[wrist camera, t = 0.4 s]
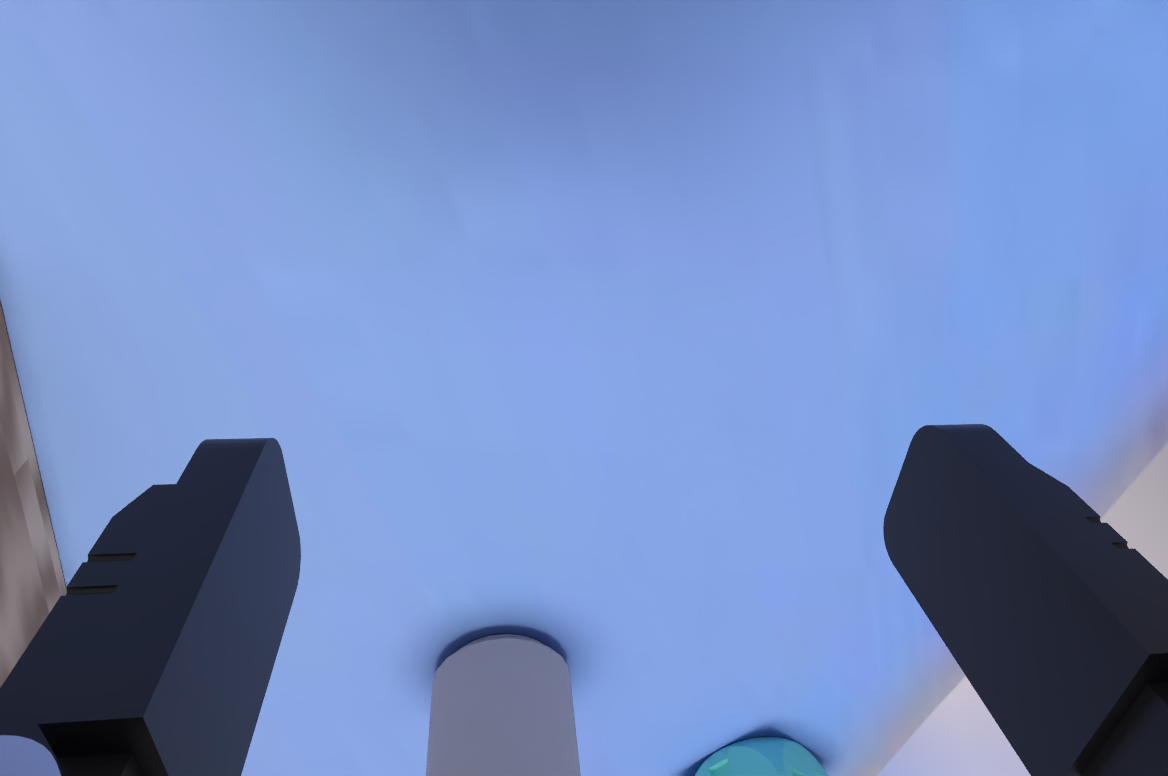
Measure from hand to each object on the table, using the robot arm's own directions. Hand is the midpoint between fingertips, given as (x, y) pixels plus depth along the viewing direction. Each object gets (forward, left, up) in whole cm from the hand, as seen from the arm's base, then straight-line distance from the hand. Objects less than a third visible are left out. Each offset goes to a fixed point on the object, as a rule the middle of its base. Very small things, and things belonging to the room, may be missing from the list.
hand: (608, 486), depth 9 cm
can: (+29, +4, -18) cm, 34 cm away
